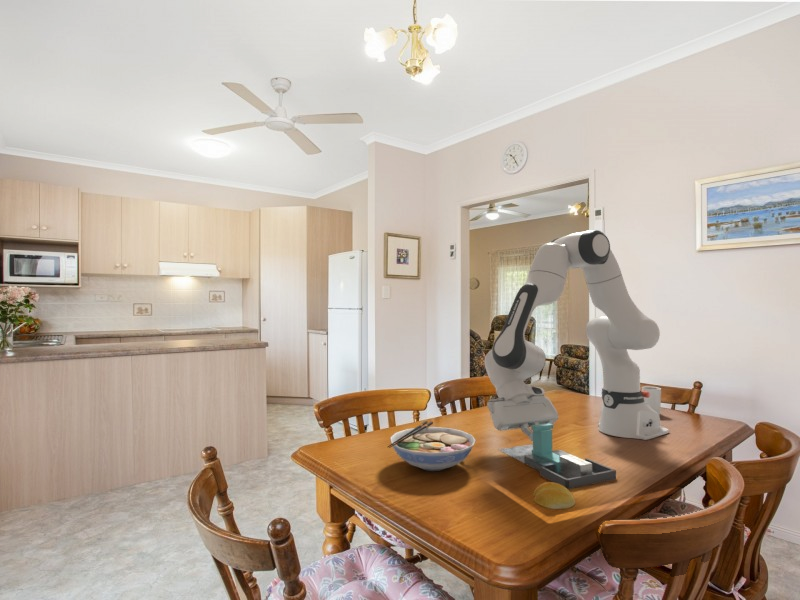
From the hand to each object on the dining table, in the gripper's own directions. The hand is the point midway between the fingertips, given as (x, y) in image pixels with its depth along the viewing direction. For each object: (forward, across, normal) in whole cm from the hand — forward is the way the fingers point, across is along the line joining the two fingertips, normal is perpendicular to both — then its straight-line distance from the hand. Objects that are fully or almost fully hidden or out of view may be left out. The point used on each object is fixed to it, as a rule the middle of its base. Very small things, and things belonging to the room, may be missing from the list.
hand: (537, 439), depth 118 cm
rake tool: (+7, 0, 0) cm, 7 cm away
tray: (+14, 0, -6) cm, 16 cm away
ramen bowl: (-1, -28, +10) cm, 30 cm away
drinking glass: (-14, +76, +22) cm, 81 cm away
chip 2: (+14, 0, -8) cm, 16 cm away
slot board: (+4, 0, +4) cm, 6 cm away
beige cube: (+12, 0, -5) cm, 13 cm away
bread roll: (+20, -13, -11) cm, 26 cm away
